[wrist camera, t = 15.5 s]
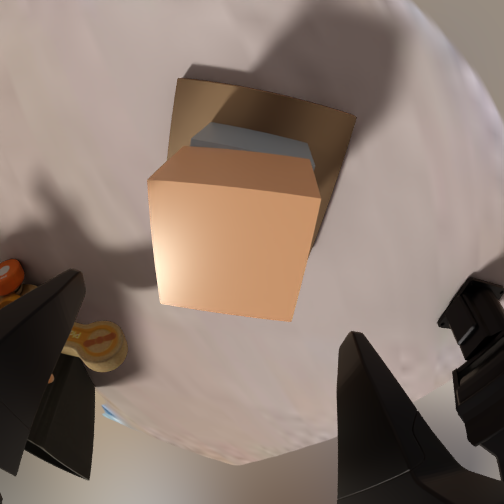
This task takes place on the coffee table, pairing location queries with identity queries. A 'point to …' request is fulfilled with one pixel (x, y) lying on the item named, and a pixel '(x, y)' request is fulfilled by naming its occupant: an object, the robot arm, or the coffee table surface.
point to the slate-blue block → (249, 141)
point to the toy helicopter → (82, 336)
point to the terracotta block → (232, 230)
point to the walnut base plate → (265, 124)
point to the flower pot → (65, 419)
